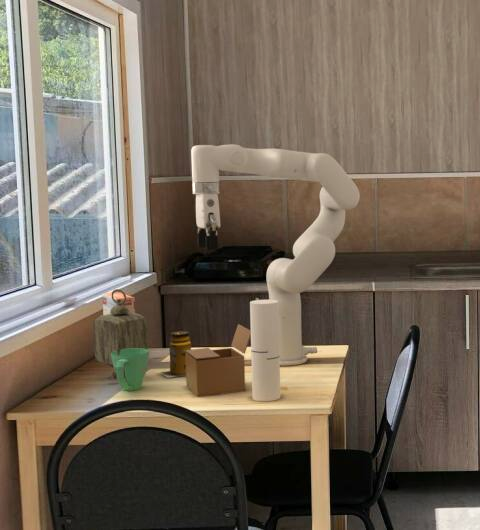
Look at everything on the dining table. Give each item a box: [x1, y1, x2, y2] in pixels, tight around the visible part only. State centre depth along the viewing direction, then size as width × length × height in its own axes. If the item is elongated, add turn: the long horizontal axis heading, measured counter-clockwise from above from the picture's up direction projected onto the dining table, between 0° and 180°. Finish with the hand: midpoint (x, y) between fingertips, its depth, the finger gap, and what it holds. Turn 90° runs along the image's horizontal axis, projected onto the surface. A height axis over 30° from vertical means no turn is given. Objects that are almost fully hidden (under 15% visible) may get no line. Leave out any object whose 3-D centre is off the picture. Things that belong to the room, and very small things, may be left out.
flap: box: [230, 323, 251, 354], centre depth 240 cm, size 6×12×1 cm
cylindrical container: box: [249, 299, 281, 402], centre depth 227 cm, size 7×7×25 cm
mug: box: [111, 348, 150, 392], centre depth 236 cm, size 15×10×10 cm
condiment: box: [159, 330, 192, 379], centre depth 255 cm, size 7×8×12 cm
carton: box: [185, 347, 246, 397], centre depth 237 cm, size 13×12×10 cm
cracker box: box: [102, 292, 136, 315], centre depth 269 cm, size 14×6×21 cm, turn 34°
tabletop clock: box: [92, 288, 149, 379], centre depth 251 cm, size 14×9×25 cm, turn 50°
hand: (207, 248), depth 254 cm, fingers open, 9 cm apart
